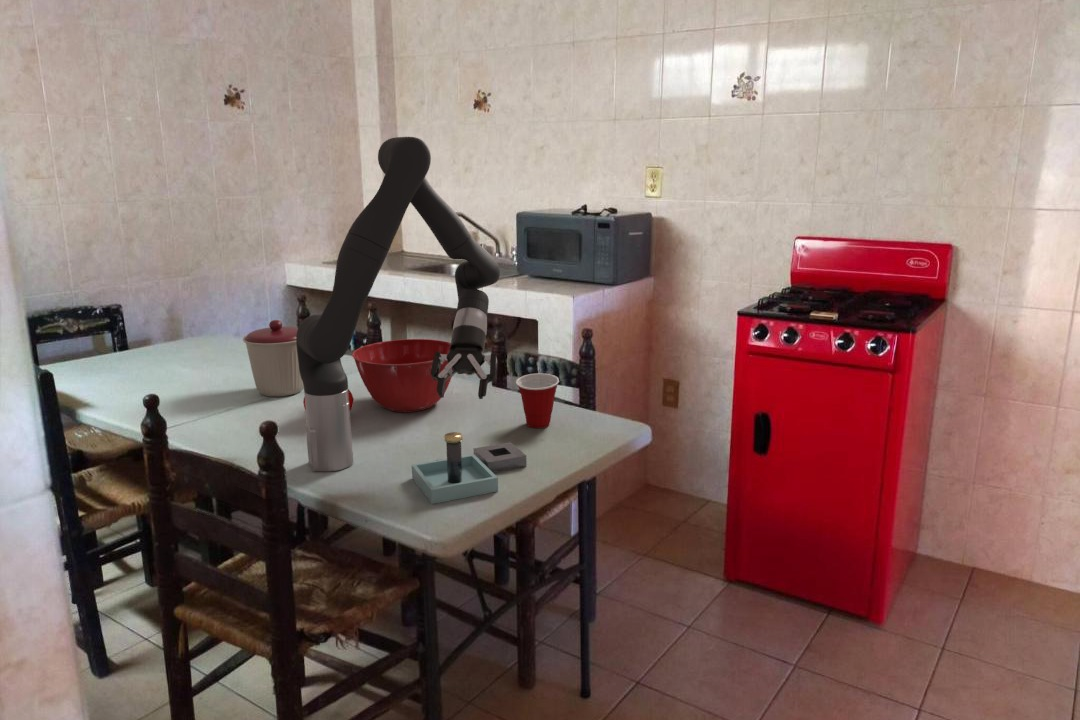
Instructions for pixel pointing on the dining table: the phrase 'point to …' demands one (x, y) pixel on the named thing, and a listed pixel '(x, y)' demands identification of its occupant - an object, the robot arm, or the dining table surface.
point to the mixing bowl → (401, 372)
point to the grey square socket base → (501, 457)
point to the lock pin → (454, 457)
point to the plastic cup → (538, 398)
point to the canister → (274, 360)
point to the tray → (473, 483)
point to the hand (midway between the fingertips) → (460, 396)
